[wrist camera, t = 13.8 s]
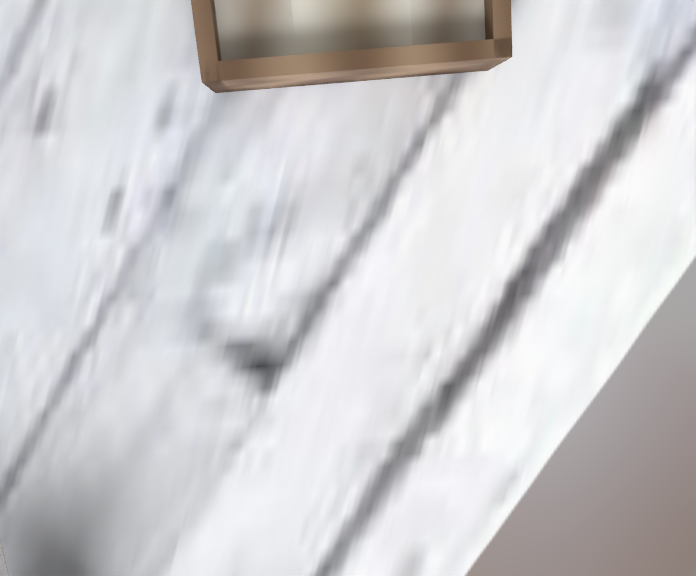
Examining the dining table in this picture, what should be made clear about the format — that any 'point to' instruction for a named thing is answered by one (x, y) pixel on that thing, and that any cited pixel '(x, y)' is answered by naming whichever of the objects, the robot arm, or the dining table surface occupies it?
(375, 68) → the socket box
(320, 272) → the dining table surface
